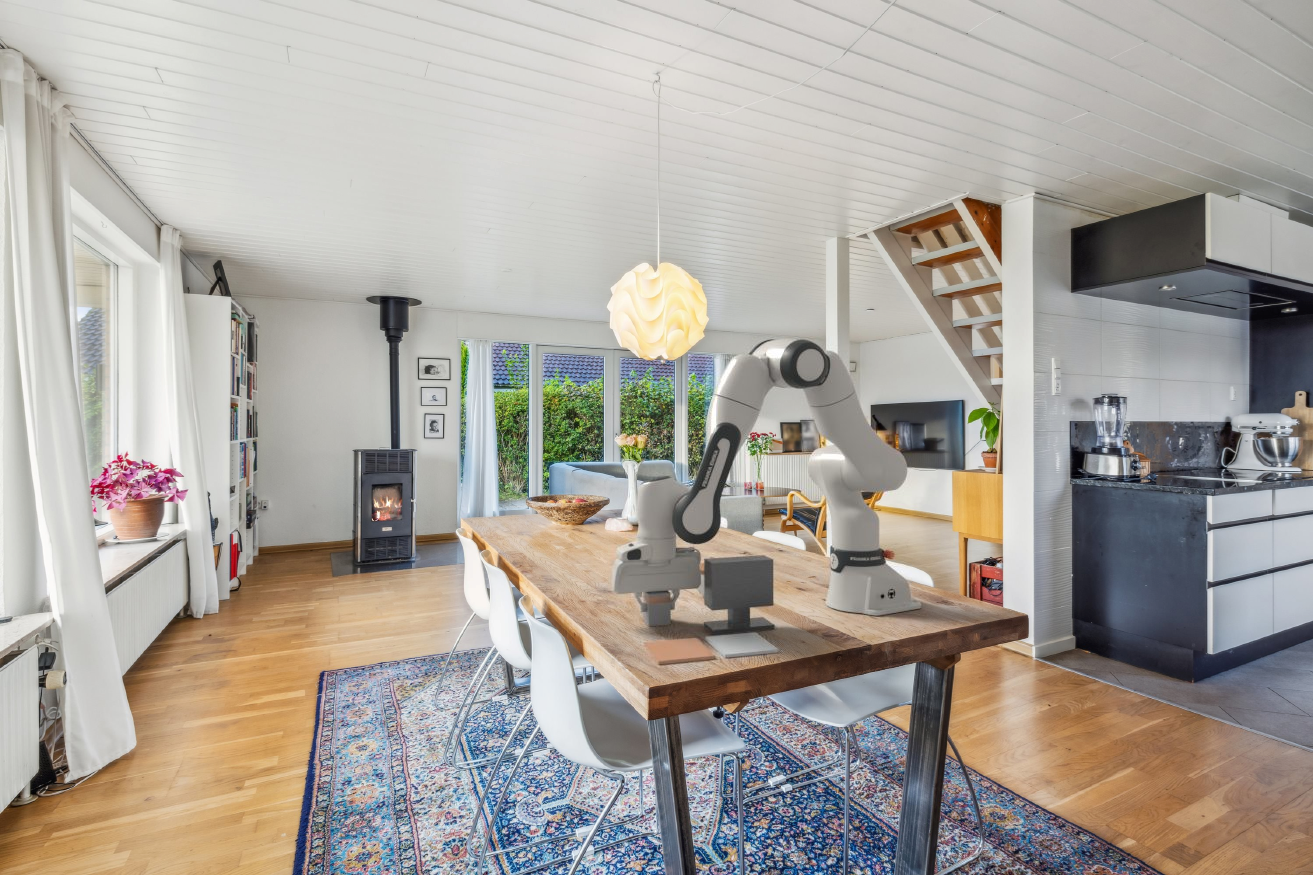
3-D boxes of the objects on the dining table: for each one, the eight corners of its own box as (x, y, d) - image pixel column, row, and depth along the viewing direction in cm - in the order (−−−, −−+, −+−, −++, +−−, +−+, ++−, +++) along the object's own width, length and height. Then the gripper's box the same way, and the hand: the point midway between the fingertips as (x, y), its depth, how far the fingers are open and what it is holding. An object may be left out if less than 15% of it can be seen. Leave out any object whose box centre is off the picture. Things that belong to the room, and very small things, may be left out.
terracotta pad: (696, 640, 134) (696, 637, 134) (714, 658, 124) (714, 655, 124) (644, 645, 131) (644, 642, 131) (658, 664, 121) (658, 661, 121)
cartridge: (664, 618, 150) (664, 587, 150) (670, 624, 145) (670, 592, 145) (643, 619, 149) (643, 589, 149) (648, 626, 144) (648, 594, 144)
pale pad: (755, 635, 137) (755, 632, 137) (778, 652, 127) (778, 649, 127) (705, 639, 135) (705, 636, 135) (724, 657, 124) (724, 654, 124)
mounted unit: (763, 621, 147) (762, 554, 147) (774, 629, 141) (774, 559, 141) (703, 626, 144) (703, 558, 143) (713, 634, 138) (712, 563, 137)
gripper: (696, 544, 152) (696, 603, 153) (609, 548, 147) (609, 610, 147) (705, 548, 146) (705, 610, 147) (615, 553, 141) (615, 617, 141)
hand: (656, 610), depth 147 cm, fingers closed on cartridge, 5 cm apart
